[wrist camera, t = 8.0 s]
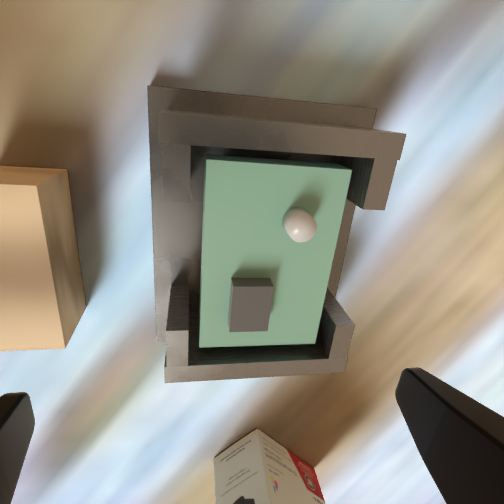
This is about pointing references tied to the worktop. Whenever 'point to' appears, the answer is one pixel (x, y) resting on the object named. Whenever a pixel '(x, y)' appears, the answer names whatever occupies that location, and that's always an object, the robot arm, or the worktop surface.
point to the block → (38, 260)
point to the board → (267, 248)
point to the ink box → (263, 474)
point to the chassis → (191, 214)
